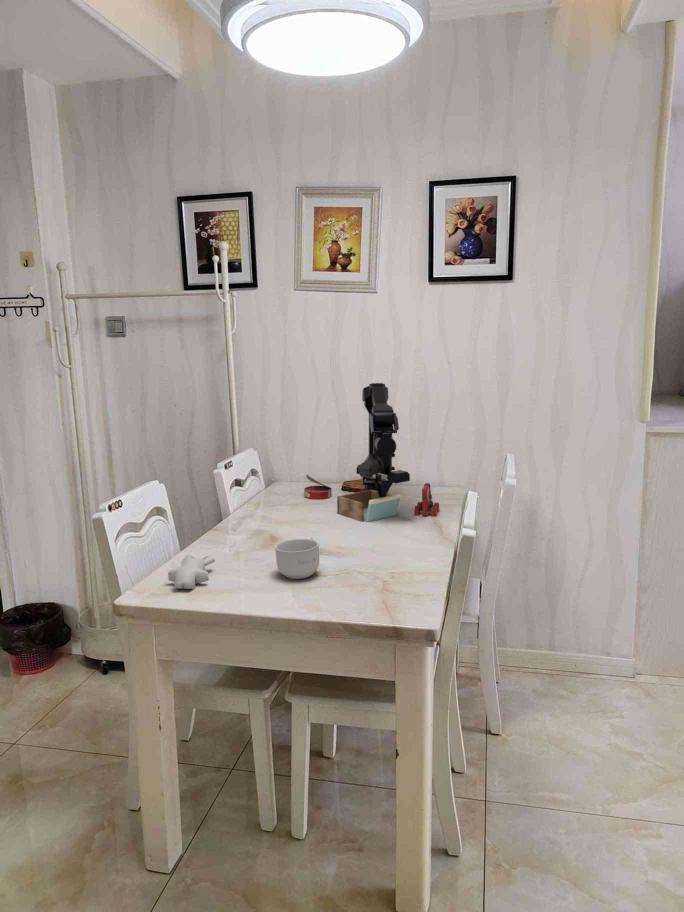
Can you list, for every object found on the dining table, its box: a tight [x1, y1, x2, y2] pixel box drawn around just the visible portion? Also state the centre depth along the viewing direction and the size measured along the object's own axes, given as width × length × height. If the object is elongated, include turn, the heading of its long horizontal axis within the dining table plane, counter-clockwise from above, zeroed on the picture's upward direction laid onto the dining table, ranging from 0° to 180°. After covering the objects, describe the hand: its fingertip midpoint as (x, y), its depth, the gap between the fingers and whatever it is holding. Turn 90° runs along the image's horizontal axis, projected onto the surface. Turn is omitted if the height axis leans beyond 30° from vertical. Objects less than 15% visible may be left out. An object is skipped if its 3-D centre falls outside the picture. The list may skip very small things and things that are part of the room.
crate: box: [336, 490, 392, 523], centre depth 216 cm, size 12×14×7 cm
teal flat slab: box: [364, 493, 401, 523], centre depth 210 cm, size 1×12×7 cm, turn 129°
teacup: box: [274, 536, 320, 580], centre depth 167 cm, size 14×11×8 cm
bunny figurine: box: [167, 554, 216, 590], centre depth 163 cm, size 10×5×15 cm
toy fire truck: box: [413, 482, 440, 518], centre depth 217 cm, size 7×12×10 cm, turn 165°
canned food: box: [304, 474, 333, 501], centre depth 244 cm, size 11×10×10 cm
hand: (382, 500), depth 209 cm, fingers closed, pressing on teal flat slab
